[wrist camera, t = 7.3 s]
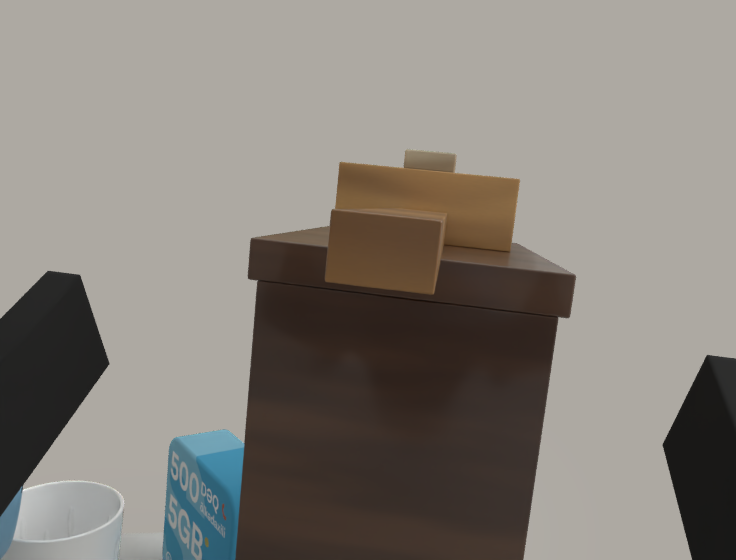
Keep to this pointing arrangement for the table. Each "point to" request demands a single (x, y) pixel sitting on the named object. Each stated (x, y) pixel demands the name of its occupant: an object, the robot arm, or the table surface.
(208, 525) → the data package
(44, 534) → the white cup
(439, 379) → the dark wooden cabinet
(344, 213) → the wooden box with handle
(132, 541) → the table surface
